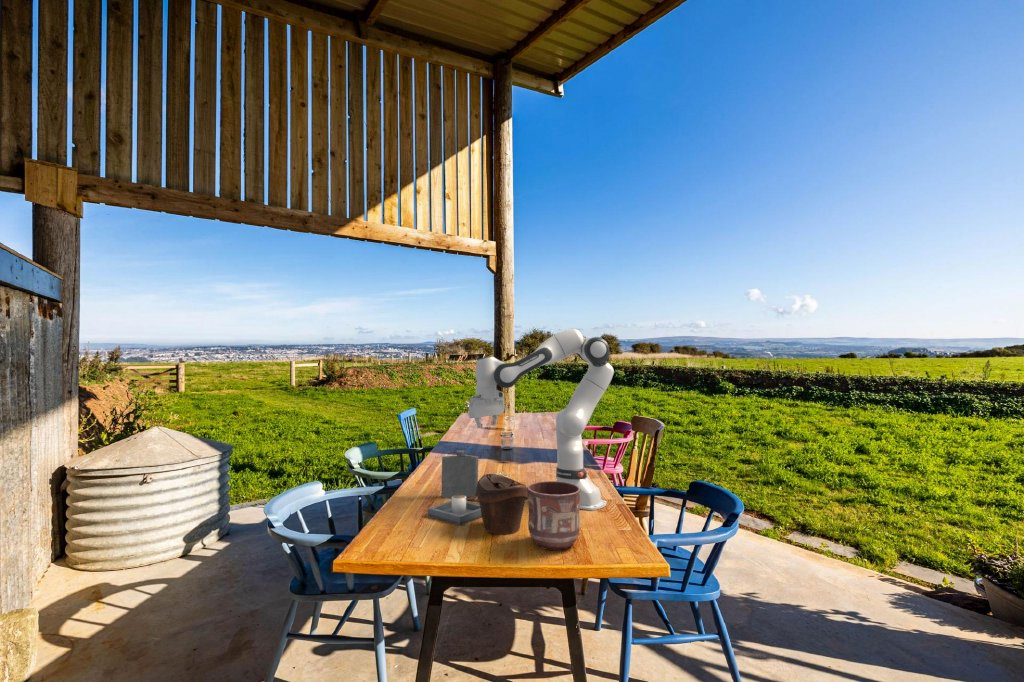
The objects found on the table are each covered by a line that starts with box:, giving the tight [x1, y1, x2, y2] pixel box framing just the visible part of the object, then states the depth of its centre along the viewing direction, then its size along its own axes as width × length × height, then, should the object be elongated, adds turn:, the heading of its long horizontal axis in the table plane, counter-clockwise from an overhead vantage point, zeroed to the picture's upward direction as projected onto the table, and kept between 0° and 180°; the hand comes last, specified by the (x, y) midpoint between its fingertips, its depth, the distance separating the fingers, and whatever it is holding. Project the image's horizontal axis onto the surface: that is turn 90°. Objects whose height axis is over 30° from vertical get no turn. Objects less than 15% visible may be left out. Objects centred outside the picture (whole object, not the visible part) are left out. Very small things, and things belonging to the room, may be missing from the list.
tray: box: [427, 500, 482, 526], centre depth 182 cm, size 17×16×3 cm
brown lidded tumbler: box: [475, 473, 528, 535], centre depth 168 cm, size 18×20×18 cm
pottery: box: [526, 480, 581, 551], centre depth 154 cm, size 18×18×18 cm
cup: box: [451, 495, 467, 515], centre depth 183 cm, size 6×6×6 cm
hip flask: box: [440, 449, 479, 499], centre depth 210 cm, size 16×4×20 cm, turn 96°
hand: (486, 426), depth 203 cm, fingers open, 8 cm apart
